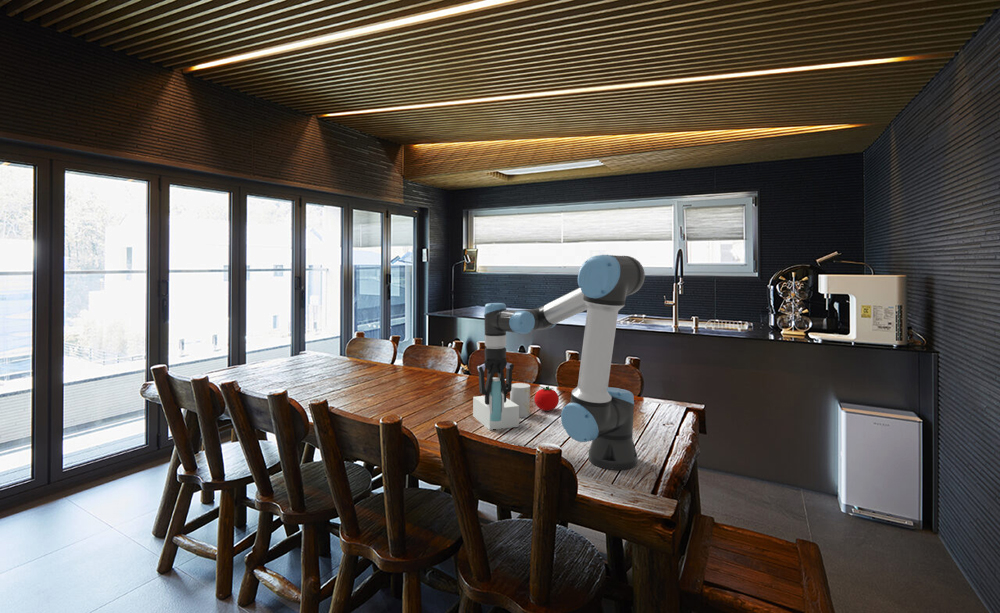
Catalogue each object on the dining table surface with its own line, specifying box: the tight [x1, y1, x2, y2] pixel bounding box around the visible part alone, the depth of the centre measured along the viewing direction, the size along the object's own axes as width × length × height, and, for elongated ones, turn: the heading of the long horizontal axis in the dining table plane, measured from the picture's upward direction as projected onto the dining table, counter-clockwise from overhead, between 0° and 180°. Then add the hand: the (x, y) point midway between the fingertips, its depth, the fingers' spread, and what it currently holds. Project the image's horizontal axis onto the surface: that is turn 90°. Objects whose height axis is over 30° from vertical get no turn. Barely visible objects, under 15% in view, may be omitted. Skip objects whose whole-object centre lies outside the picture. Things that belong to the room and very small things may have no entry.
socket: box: [472, 395, 520, 431], centre depth 192 cm, size 18×12×8 cm, turn 23°
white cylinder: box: [509, 382, 531, 418], centre depth 201 cm, size 8×8×12 cm
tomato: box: [534, 385, 560, 412], centre depth 208 cm, size 10×10×10 cm
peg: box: [490, 377, 502, 421], centre depth 173 cm, size 4×4×15 cm
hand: (495, 412), depth 174 cm, fingers closed on peg, 4 cm apart
